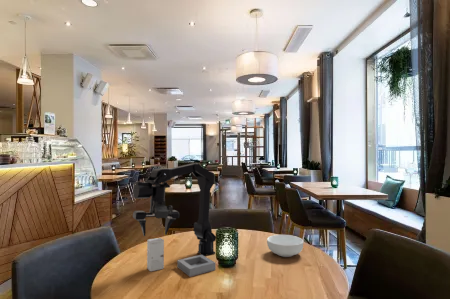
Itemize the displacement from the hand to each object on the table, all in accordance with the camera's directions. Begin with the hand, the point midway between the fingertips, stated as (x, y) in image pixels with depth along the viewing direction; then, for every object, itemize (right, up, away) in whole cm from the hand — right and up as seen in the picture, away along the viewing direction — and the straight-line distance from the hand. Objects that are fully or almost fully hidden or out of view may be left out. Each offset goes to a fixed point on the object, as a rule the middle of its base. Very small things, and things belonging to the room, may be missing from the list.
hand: (155, 235), depth 122 cm
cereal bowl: (+58, -14, +15) cm, 62 cm away
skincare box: (0, -14, 0) cm, 14 cm away
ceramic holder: (+18, -14, -1) cm, 22 cm away
